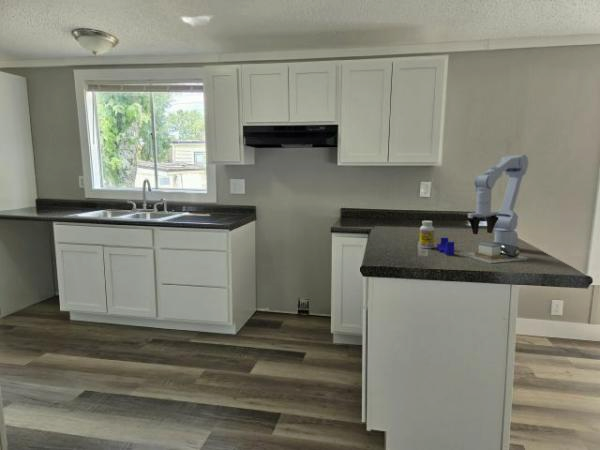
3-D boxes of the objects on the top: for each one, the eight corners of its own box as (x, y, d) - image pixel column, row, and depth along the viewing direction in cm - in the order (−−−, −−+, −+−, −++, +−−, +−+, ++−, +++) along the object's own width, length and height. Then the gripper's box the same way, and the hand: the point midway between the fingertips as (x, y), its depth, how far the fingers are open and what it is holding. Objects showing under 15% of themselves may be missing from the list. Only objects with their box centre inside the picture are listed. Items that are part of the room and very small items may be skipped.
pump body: (486, 253, 173) (486, 242, 172) (499, 256, 166) (500, 244, 166) (478, 254, 171) (478, 242, 170) (491, 257, 165) (492, 245, 164)
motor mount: (498, 252, 179) (498, 240, 178) (527, 259, 164) (527, 247, 163) (464, 255, 174) (464, 243, 174) (490, 263, 159) (491, 250, 158)
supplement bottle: (418, 248, 191) (419, 221, 189) (419, 245, 197) (420, 220, 196) (433, 249, 189) (434, 222, 187) (434, 246, 195) (434, 220, 193)
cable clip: (437, 250, 187) (437, 237, 186) (447, 250, 187) (447, 237, 186) (443, 255, 175) (443, 242, 174) (453, 255, 175) (454, 242, 174)
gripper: (490, 201, 179) (489, 231, 181) (463, 202, 175) (462, 233, 176) (502, 202, 172) (501, 233, 174) (474, 203, 168) (473, 235, 170)
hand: (482, 233), depth 175 cm, fingers open, 7 cm apart
